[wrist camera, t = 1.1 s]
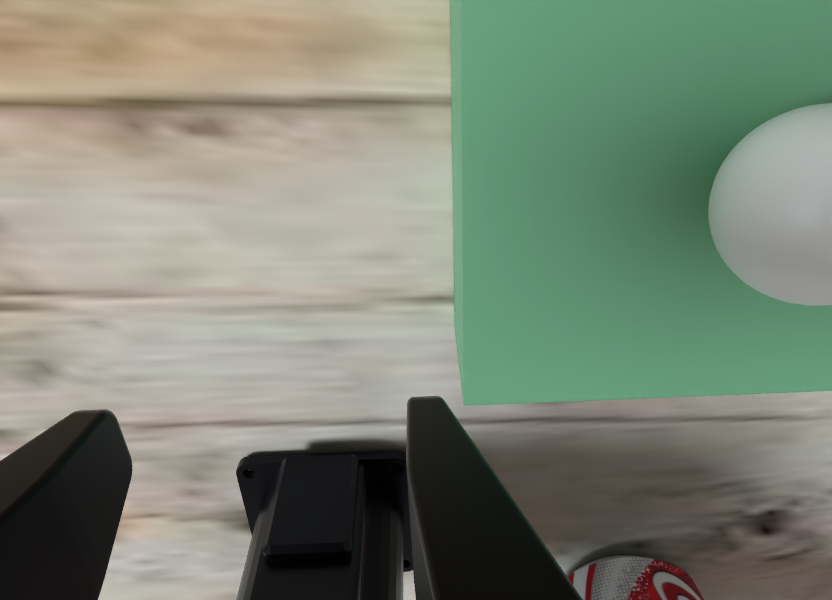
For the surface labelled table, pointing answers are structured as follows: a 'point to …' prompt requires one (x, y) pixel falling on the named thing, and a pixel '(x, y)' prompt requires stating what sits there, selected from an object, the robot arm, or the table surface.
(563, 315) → the block
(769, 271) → the ball
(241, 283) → the table surface
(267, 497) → the robot arm
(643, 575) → the soda can
